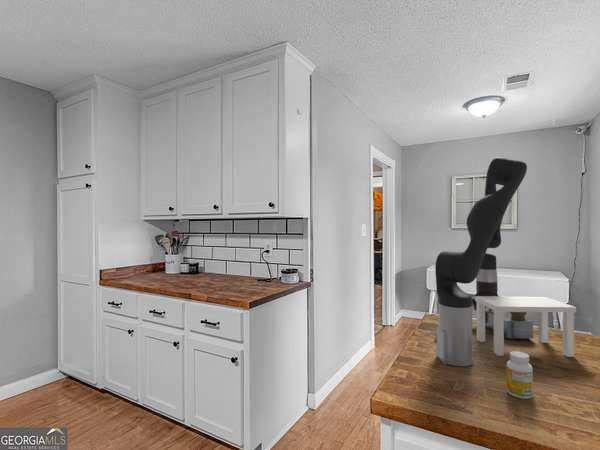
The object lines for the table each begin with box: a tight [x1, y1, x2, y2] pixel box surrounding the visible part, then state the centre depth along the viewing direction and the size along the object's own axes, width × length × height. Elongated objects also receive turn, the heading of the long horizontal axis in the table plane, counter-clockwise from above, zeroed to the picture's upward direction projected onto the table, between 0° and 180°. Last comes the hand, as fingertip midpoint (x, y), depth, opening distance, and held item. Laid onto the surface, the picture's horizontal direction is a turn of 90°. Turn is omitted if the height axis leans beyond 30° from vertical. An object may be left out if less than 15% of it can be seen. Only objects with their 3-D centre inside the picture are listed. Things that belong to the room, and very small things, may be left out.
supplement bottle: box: [506, 350, 534, 400], centre depth 82 cm, size 5×5×10 cm
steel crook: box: [485, 308, 534, 339], centre depth 127 cm, size 9×20×6 cm, turn 175°
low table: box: [474, 295, 577, 358], centre depth 111 cm, size 24×14×16 cm, turn 86°
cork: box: [509, 312, 529, 340], centre depth 122 cm, size 6×6×11 cm
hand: (487, 322), depth 135 cm, fingers closed on steel crook, 2 cm apart
